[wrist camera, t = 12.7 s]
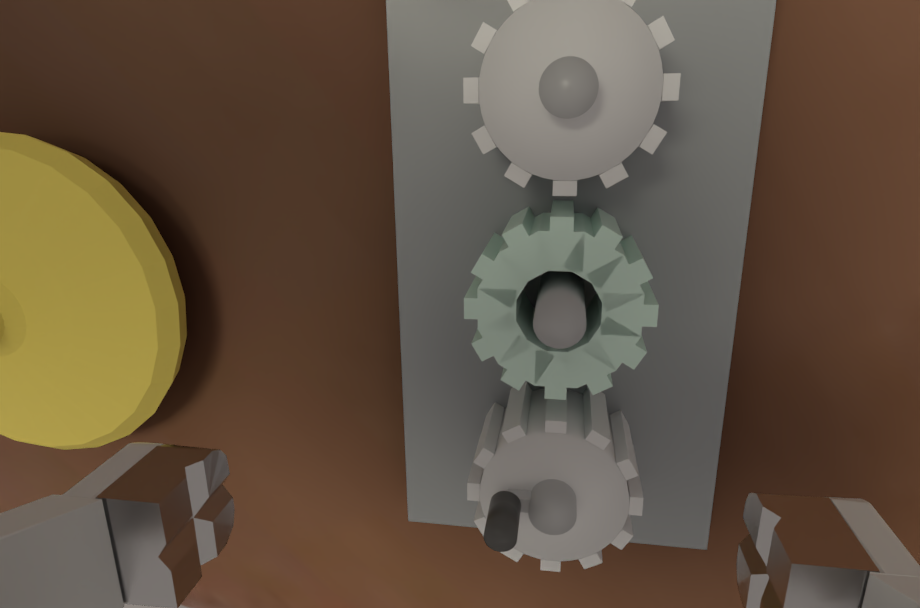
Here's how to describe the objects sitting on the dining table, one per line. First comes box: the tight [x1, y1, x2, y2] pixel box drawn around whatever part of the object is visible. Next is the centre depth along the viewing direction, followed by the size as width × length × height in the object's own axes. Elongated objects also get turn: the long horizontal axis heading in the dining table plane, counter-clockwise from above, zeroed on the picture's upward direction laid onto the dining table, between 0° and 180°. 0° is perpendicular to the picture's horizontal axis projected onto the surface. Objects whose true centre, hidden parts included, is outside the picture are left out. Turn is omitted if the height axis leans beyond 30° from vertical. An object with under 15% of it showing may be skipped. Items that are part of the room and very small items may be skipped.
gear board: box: [386, 0, 776, 572], centre depth 24 cm, size 25×14×9 cm, turn 1°
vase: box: [0, 132, 187, 450], centre depth 29 cm, size 16×16×7 cm
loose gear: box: [464, 200, 659, 400], centre depth 24 cm, size 7×7×4 cm
